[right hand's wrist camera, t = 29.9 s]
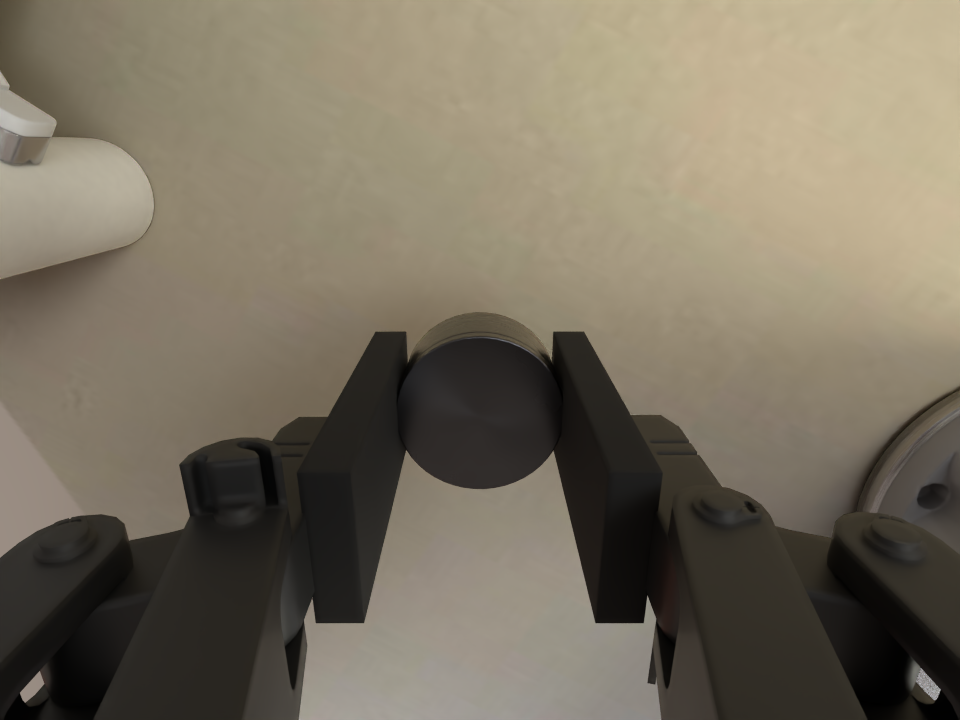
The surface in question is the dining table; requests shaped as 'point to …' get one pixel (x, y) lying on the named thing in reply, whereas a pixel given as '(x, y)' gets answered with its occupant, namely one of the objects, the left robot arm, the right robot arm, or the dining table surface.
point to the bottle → (71, 204)
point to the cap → (479, 402)
